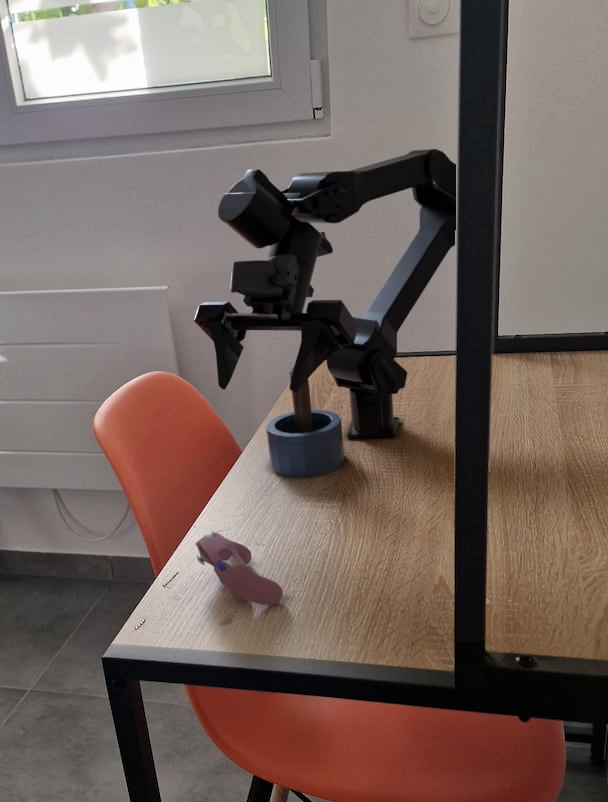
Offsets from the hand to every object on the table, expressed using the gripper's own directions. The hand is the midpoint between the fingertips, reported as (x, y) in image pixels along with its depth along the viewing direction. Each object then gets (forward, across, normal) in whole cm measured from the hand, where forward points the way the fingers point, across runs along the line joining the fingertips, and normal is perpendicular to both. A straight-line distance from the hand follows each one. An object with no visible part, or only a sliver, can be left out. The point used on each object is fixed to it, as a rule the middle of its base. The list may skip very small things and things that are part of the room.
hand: (256, 389), depth 93 cm
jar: (+2, 0, +17) cm, 17 cm away
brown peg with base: (+2, 0, +17) cm, 17 cm away
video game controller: (+24, +7, -4) cm, 25 cm away
